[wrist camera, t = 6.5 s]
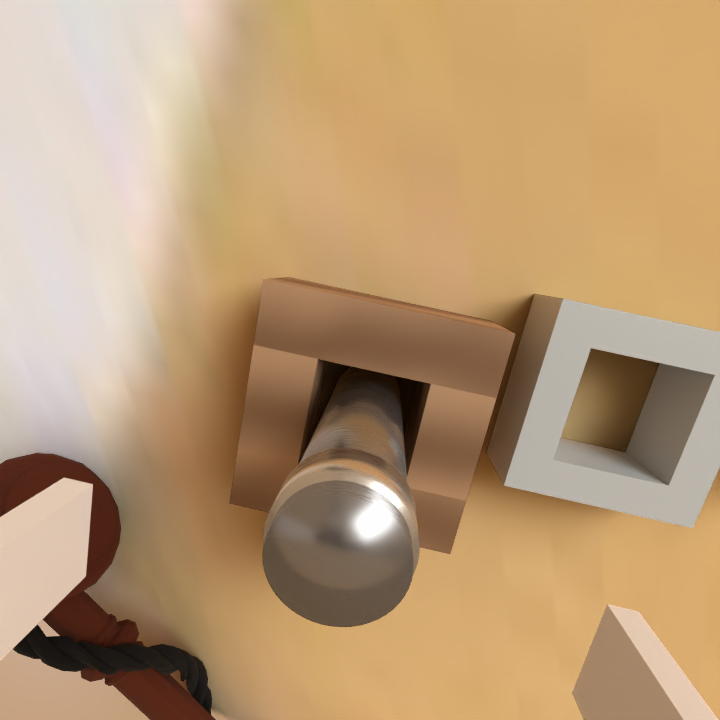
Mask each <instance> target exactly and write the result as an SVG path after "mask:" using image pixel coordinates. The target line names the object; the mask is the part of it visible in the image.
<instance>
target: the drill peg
mask: <svg viewBox="0 0 720 720" xmlns="http://www.w3.org/2000/svg"><path fill="white" fill-rule="evenodd" d="M419 546H420V545H419V536H418V526H417V517H416V507H415V501H414V498H413V494H412V492H411V490H410V487H409V486H408V484H407V473H406V461H405V448H404V435H403V423H402V410H401V397H400V389H399V385H398V382H397V381H396V379H395V377H394V376H393V375H388V374H384V373H379V372H375V371H370V370H366V369H361V368H357V367H351V368H349V369H348V370H347V371H345V372H344V373H343V375H342V376H341V377H340V379H339V381H338V383H337V385H336V387H335V389H334V391H333V393H332V396H331V398H330V400H329V402H328V404H327V406H326V408H325V411H324V413H323V415H322V417H321V419H320V421H319V423H318V426H317V428H316V430H315V432H314V434H313V436H312V438H311V441H310V443H309V445H308V447H307V449H306V451H305V453H304V456H303V458H302V460H301V462H300V463H299V464H298V465H297V466H296V467H295V468H294V469H293V470H292V471H291V473H290V474H289V475H288V477H287V478H286V480H285V482H284V483H283V485H282V487H281V489H280V491H279V493H278V495H277V497H276V499H275V501H274V503H273V505H272V507H271V509H270V511H269V514H268V516H267V519H266V522H265V526H264V532H263V566H264V571H265V574H266V577H267V580H268V582H269V584H270V586H271V588H272V589H273V591H274V592H275V594H276V595H277V596H278V598H279V599H280V600H281V601H282V602H283V603H284V604H285V605H286V606H287V607H288V608H290V609H291V610H292V611H294V612H295V613H297V614H298V615H300V616H302V617H304V618H306V619H308V620H310V621H313V622H316V623H319V624H322V625H328V626H334V627H352V626H359V625H363V624H367V623H370V622H373V621H375V620H377V619H379V618H381V617H383V616H385V615H386V614H388V613H389V612H390V611H392V610H393V609H394V608H395V607H396V606H397V605H398V604H399V603H400V602H401V600H402V599H403V597H404V596H405V594H406V592H407V591H408V589H409V586H410V583H411V581H412V576H413V574H414V572H415V569H416V566H417V563H418V558H419Z"/></svg>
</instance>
